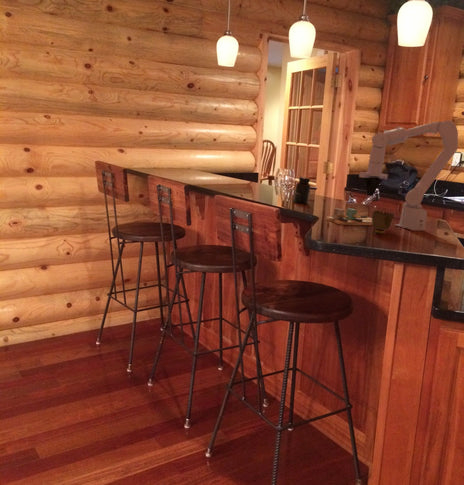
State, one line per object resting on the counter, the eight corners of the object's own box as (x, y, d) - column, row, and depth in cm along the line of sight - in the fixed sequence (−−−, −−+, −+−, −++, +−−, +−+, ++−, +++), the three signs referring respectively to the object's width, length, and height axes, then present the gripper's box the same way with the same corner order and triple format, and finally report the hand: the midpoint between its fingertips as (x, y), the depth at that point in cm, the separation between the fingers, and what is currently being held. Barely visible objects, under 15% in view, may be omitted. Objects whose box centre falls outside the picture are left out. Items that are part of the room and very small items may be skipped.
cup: (374, 230, 194) (378, 209, 192) (392, 235, 189) (397, 213, 187) (365, 232, 188) (369, 210, 186) (384, 237, 183) (388, 214, 182)
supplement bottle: (292, 202, 243) (296, 177, 240) (294, 200, 249) (298, 176, 246) (306, 204, 241) (310, 179, 238) (308, 203, 247) (312, 178, 245)
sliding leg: (361, 221, 202) (362, 211, 202) (356, 221, 201) (358, 211, 200) (349, 218, 208) (351, 208, 207) (345, 218, 206) (347, 208, 205)
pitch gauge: (385, 225, 210) (387, 212, 209) (342, 225, 197) (344, 211, 196) (367, 219, 218) (369, 207, 217) (324, 219, 205) (326, 206, 204)
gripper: (380, 162, 218) (374, 194, 221) (356, 160, 210) (350, 193, 213) (393, 164, 212) (387, 197, 215) (369, 162, 205) (363, 196, 208)
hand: (370, 195), depth 214 cm, fingers closed
